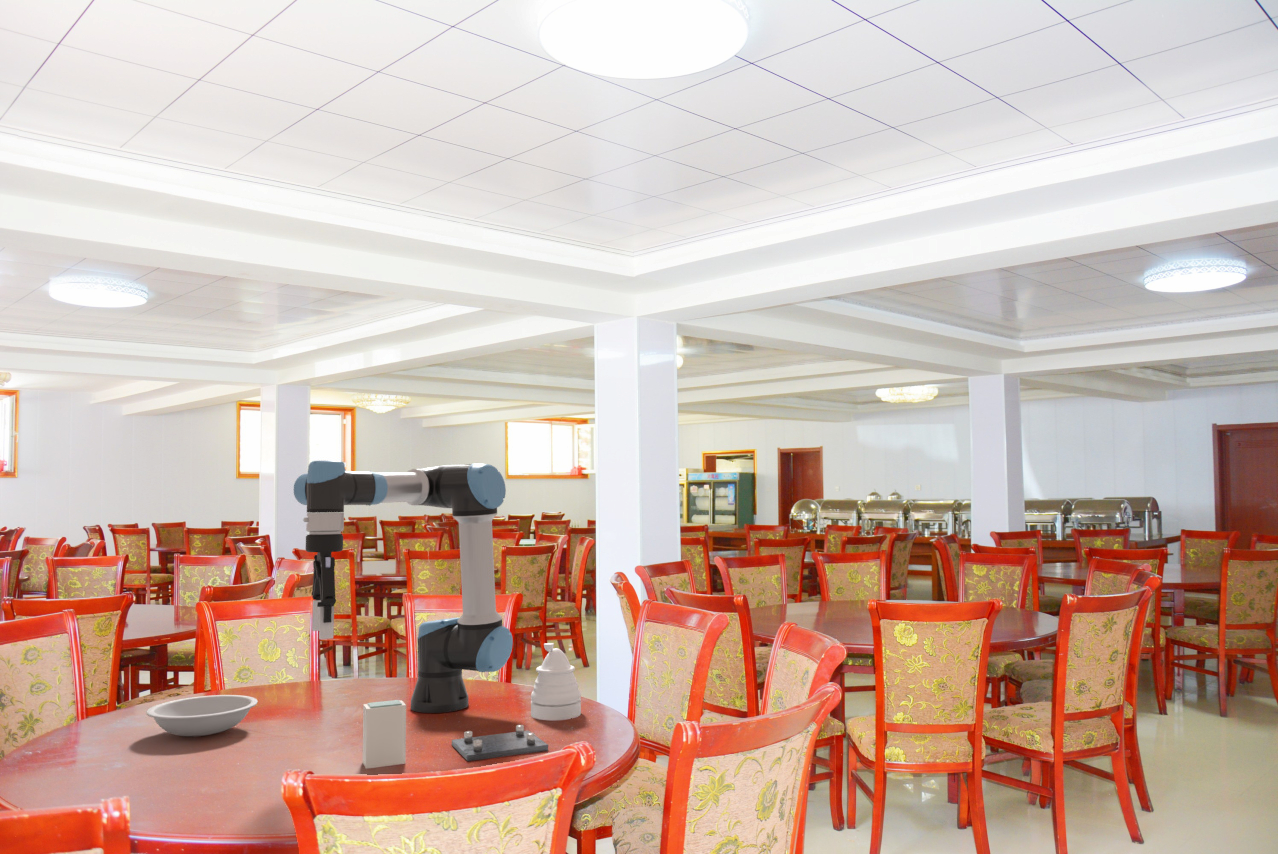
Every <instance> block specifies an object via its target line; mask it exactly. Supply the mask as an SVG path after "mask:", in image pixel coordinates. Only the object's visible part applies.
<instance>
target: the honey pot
mask: <svg viewBox="0 0 1278 854" xmlns="http://www.w3.org/2000/svg"><path fill="white" fill-rule="evenodd" d="M554 645H555V643H554V642H547V643H545V642H544V643H543V648H544V649H545V651H546V652H548V653H547V654H546V655H545V658H544V659H543V661H542V663H541V665H539V666H537V667H536V668H535V672H536V673H538V674H537V677H536V679H535V681H534V685H533V690H532V692H531V694H530V717H531V718H533V719H536V720H540V721H566V720H571V718H572V719H574V718H575V719H576V718H578V717H580V716H581V714H582V700H581V699H582V698H581V696H582V694H581V690H580V689H579V685H578V680H577V678H576V676H575V674H574V672H575V670H576V667H575V666H574V665H571V664H570V661H569V659H568V657H567V655H566V653H564V652H563V650H561V649H560V648H558V647H556V648H554Z"/></svg>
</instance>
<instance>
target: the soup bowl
mask: <svg viewBox="0 0 1278 854" xmlns="http://www.w3.org/2000/svg"><path fill="white" fill-rule="evenodd" d="M257 705H258V699H257V698H256V697H253V696H249V695H239V694H217V695H216V694H213V695H212V694H211V695H200V696H194V697H192V696H191V697H187V698H186V697H185V698H179V699H174V700H170V701H166V702H162V703H158V704H155V705H153V706H151V707H149V708H148V709H147V710H146V712H145V714H146V715H147V716H148V717H150V718H153V719H154V721H155V723H156V724H157V725H158V727H160V728H161V729H162V730H164V731H165V732H167V733H169V734H170V735H171V734H172V735H174V736H181V737H201V736H202V737H203V736H209V735H215V734H218V733H222V732H225V731H228V730H230V729H232V728H234V727H236V726H237V725H238V724H239V723H241V721H243V720H244V719H245V717H246V716H247V715H248V713H249V712H250V710H251V709H252V708H254V707H256V706H257Z"/></svg>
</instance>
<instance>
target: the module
mask: <svg viewBox="0 0 1278 854" xmlns="http://www.w3.org/2000/svg"><path fill="white" fill-rule="evenodd" d="M362 709H363V711H362V765H363V766H364V768H365V769H366V770H368V769H374V768H381V767H382V768H383V767H389V766H391V767H392V766H397V765H404V764H406V763H407V762H406V761H407V760H406V748H407V747H406V746H407V744H406V743H407V735H406V734H407V704H406V703H405V702H404V701H403V700H402V699H401V700H400V699H394V700H392V699H391V700H385V701H384V700H383V701H373V702H367V703H363V707H362Z"/></svg>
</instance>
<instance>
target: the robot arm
mask: <svg viewBox="0 0 1278 854" xmlns="http://www.w3.org/2000/svg"><path fill="white" fill-rule="evenodd" d="M345 465H346V464H345V463H344V461H342V460H313V461H311V462H310V463H309V464H308V469H307V473H304V474H301V475H300V476H298V477H297V478H296V480H295V481H294V484H293V495H294V498H295V500H296V502H298V503H299V504H301V505H303V506H306V516H305V517H304V518H303V519H302V520H303V522H304V523H306V525H305V526H306V530H305V531H306V532H308V534H306V536H305V551H306V552H307V553H316V554H314V556H313V558H314V560H313V563H312V565H313V566H312V567H313V573H312V574H313V578H312V588H311V589H312V590H311V596H312V598H311V599H312V612H311V613H312V617H311V618H312V619H311V631H312V632H317V631H318V634H319V635H318V639H319V640H328V639H329V640H330V639H332V640H333V639H334V635H335V634H334V630H335V629H334V628H335V624H334V623H335V604H336V602H337V599H336V580H335V579H336V578H335V567H336V566H335V565H336V561H335V560H336V559H335V557H334V556H332V553H335V552H336V553H337V552H341V551H343V550H344V535H343V534H342V533H341V532H344V530H345V529H344V528H345V527H344V526H345V524H344V523H345V506H369V507H370V506H373V505H374V506H376V505H380V504H383V503H384V504H385V503H386V504H390V503H407V504H408V505H411V506H426V507H435V508H440V509H441V508H442V509H451V511H452V514H451V515H452V518H453V519H454V520H455V521H456V522H457V523H458V536H459V557H460V558H459V560H460V578H461V579H460V580H461V602H462V603H461V604H462V614H461V616H459V617H452V618H451V617H449V618H442V619H435V620H430V621H429V620H428V621H424V622H422V623H421V624H420V625H419V626H418V634H417V680H416V683H415V686H414V689H413V693H412V695H411V699H410V710H411V711H413V712H418V713H425V714H436V713H437V714H440V713H451V712H455V711H460V710H464V709H466V708H468V706H469V694H468V691H467V687H466V685H465V682H464V678H463V670H464V671H465V670H466V671H475V672H479V673H485V672H486V673H495V672H498V671H500V670H502V668H503V667H504V666H505V665H506V664H507V662H508V660H509V659H510V656H511V653H512V649H513V644H514V641H513V639H514V638H513V635H512V632H511V631H510V629H509V628H507V627H506V626H504V625H503V617H502V615H501V614H500V613H498V612H497V606H496V605H497V603H496V600H497V599H496V584H495V583H496V579H495V561H494V536H493V522H492V521H493V520H494V519H495V517H496V516H497V515H498V508H499V507H501V506H502V505H503V503H504V499H505V498H506V491H507V490H506V488H507V487H506V483H505V480H504V477H503V475H502V473H501V472H500V471H499V469H498V468H497V467H495V466H493V465H492V464H488V463H478V462H476V463H464V464H460V463H459V464H445V465H444V464H443V465H436V466H431V467H423V468H412V469H410V470H407V472H376V471H375V472H374V471H371V470H369V471H368V470H367V471H364V470H363V471H360V470H359V471H357V470H354V471H352V470H346V468H345V467H346V466H345Z"/></svg>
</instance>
